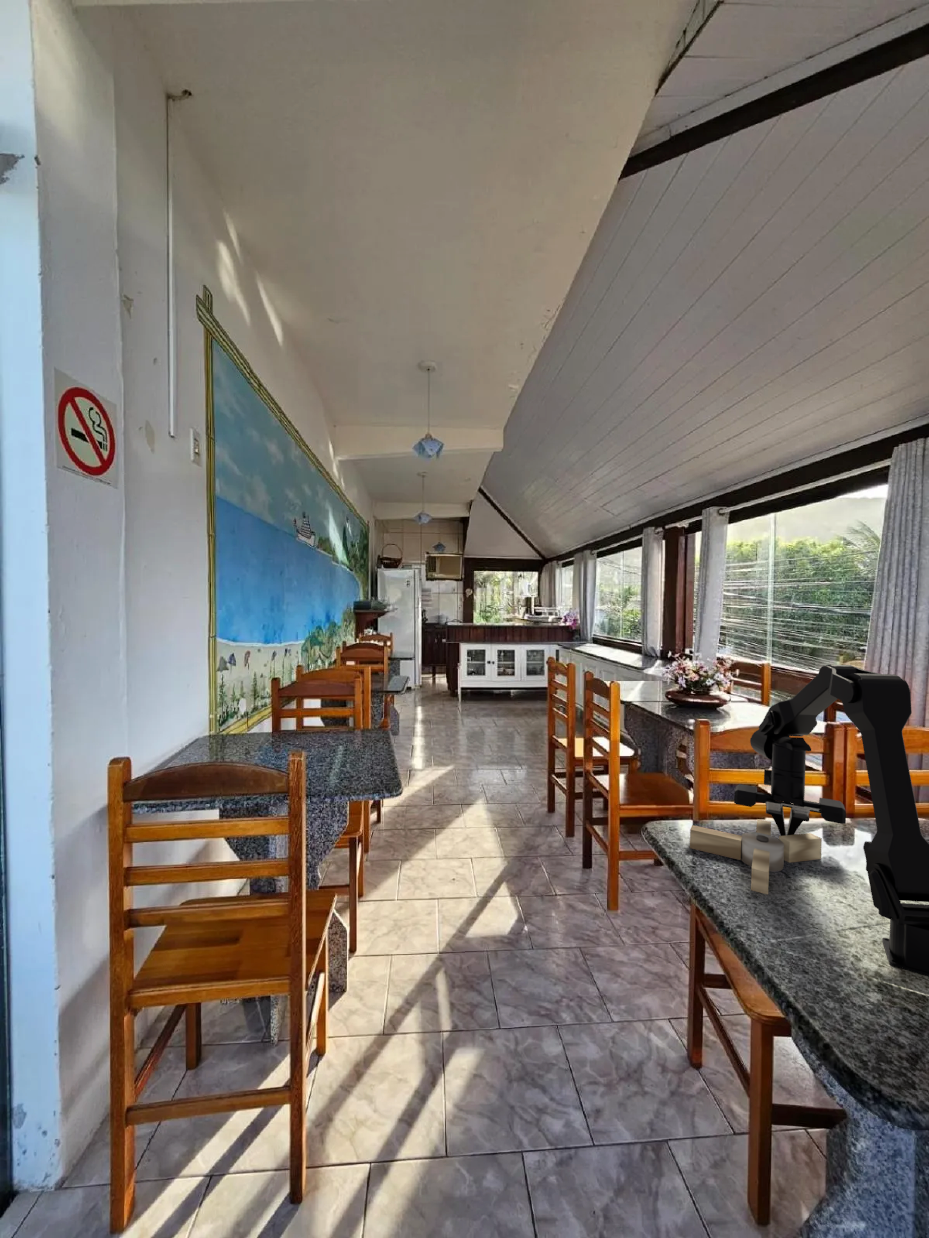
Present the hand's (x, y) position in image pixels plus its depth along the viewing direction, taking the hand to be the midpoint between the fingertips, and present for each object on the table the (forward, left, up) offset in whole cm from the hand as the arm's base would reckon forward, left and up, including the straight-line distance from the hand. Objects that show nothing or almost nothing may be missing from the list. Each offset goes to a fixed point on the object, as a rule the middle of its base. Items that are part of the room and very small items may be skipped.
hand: (786, 844), depth 105 cm
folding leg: (-3, -2, -1) cm, 4 cm away
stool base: (-10, +9, -1) cm, 13 cm away
